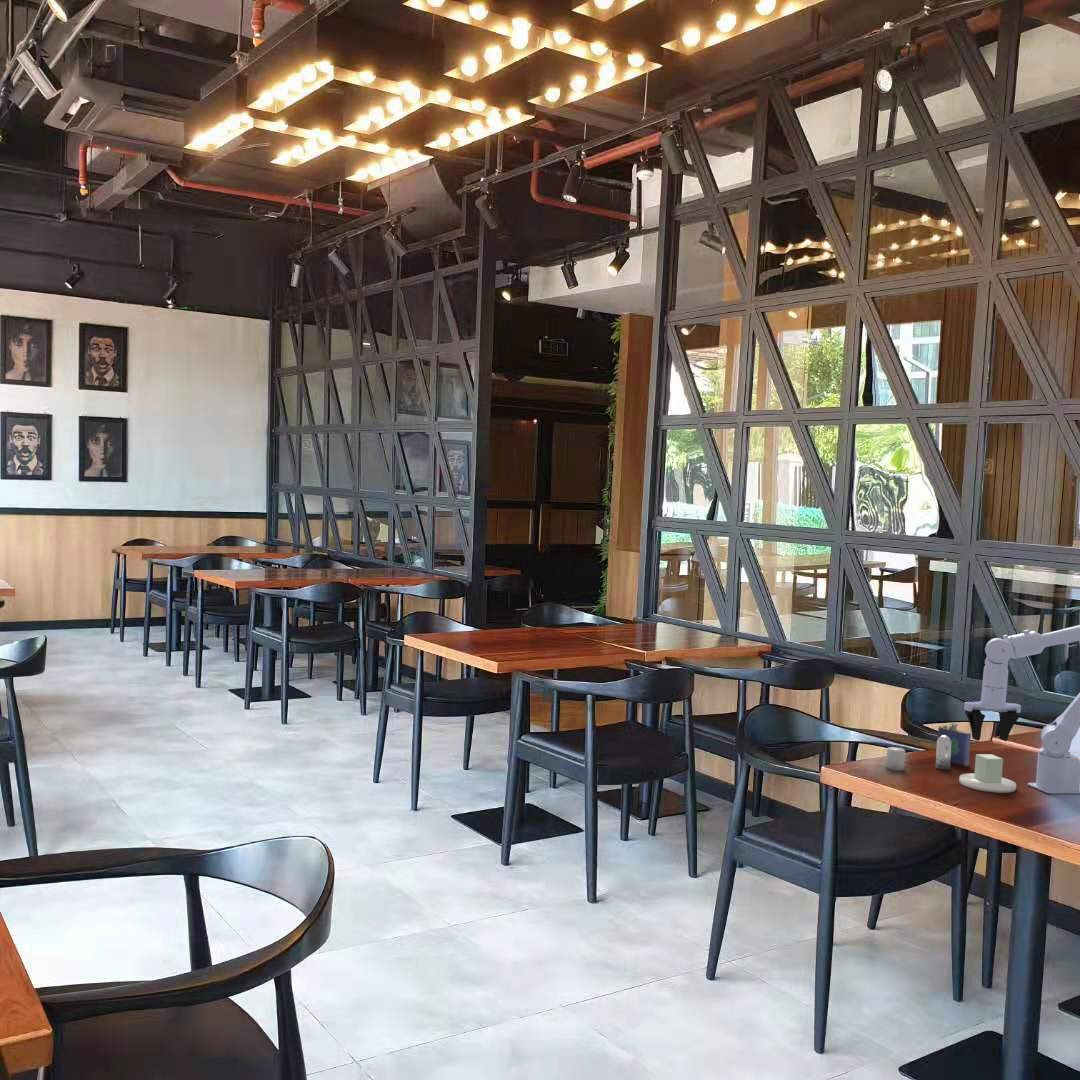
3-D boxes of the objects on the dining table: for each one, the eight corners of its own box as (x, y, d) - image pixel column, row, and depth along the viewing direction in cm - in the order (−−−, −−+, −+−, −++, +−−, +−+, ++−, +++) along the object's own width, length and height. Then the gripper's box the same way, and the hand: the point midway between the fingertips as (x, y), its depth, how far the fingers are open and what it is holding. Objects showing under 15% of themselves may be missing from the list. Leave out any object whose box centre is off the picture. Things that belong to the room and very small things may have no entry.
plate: (994, 778, 275) (995, 773, 275) (1027, 792, 262) (1027, 787, 262) (948, 778, 272) (949, 773, 272) (979, 792, 259) (979, 788, 259)
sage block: (990, 778, 270) (991, 754, 269) (1001, 783, 265) (1003, 758, 265) (974, 778, 269) (975, 754, 268) (984, 783, 264) (986, 759, 264)
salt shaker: (944, 765, 285) (946, 733, 285) (952, 769, 281) (954, 736, 281) (932, 766, 284) (934, 733, 284) (940, 769, 281) (942, 737, 280)
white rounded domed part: (898, 766, 282) (899, 747, 282) (907, 770, 278) (908, 751, 278) (882, 766, 281) (884, 747, 281) (891, 770, 277) (892, 751, 277)
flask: (970, 765, 287) (973, 726, 286) (964, 767, 285) (967, 727, 284) (939, 758, 294) (941, 719, 293) (933, 759, 292) (935, 720, 292)
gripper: (1010, 684, 276) (1005, 736, 277) (959, 682, 273) (954, 735, 274) (1028, 689, 269) (1022, 743, 270) (975, 687, 266) (970, 742, 267)
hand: (989, 739), depth 271 cm, fingers open, 7 cm apart
